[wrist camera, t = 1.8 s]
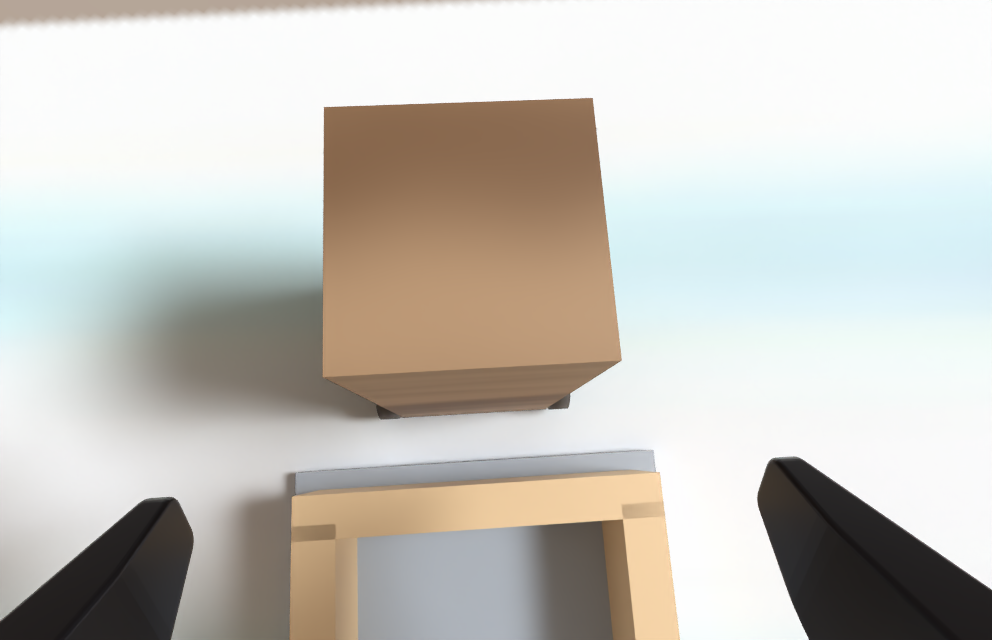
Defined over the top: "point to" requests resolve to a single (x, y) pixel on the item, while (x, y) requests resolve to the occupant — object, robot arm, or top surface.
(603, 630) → the dock
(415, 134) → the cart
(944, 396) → the top surface
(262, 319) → the top surface
